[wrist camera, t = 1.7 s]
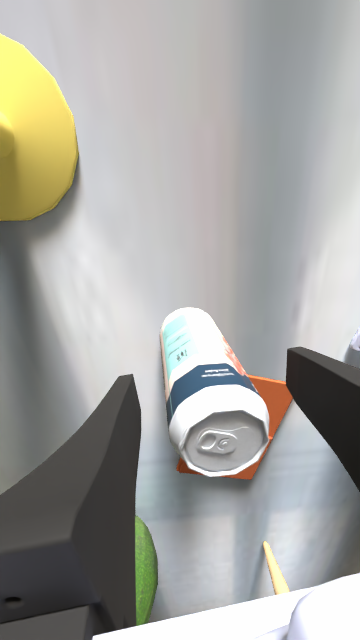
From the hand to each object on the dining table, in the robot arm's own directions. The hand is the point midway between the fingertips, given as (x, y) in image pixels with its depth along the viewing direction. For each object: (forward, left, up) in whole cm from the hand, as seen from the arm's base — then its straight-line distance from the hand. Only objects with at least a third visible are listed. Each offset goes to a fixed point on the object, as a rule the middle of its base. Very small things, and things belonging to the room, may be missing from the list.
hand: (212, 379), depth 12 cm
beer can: (-1, +2, -10) cm, 11 cm away
